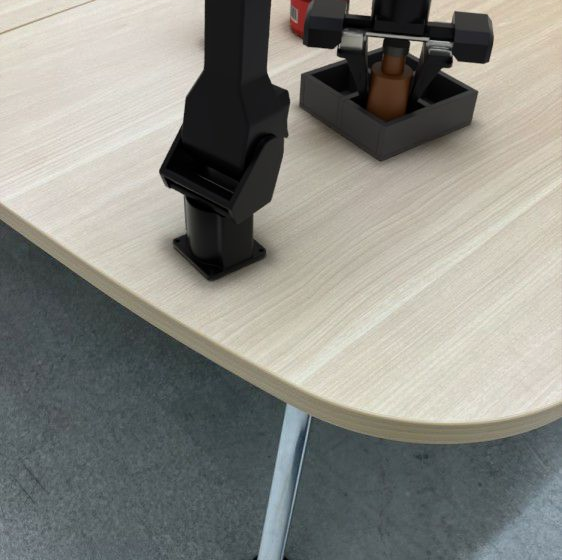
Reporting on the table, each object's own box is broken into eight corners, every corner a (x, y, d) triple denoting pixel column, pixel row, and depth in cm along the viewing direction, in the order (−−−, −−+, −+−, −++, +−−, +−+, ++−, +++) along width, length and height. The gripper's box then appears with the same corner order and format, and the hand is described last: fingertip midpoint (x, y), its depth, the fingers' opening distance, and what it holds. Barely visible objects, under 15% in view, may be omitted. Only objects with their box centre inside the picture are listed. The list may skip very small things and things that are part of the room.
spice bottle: (410, 133, 87) (427, 44, 80) (381, 145, 85) (395, 55, 78) (383, 116, 90) (397, 28, 82) (354, 127, 88) (366, 38, 80)
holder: (471, 123, 91) (478, 91, 88) (380, 161, 85) (385, 127, 82) (387, 75, 98) (392, 43, 95) (298, 106, 92) (300, 73, 89)
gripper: (502, -66, 79) (469, 82, 91) (318, -82, 80) (308, 66, 92) (510, -24, 72) (473, 132, 83) (307, -42, 73) (297, 114, 84)
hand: (386, 108), depth 86 cm, fingers closed on spice bottle, 4 cm apart
